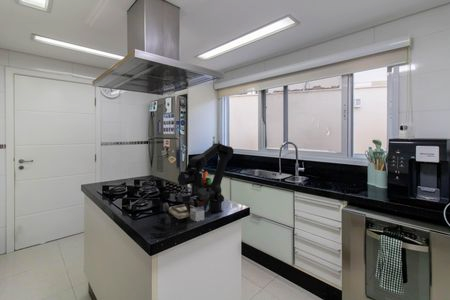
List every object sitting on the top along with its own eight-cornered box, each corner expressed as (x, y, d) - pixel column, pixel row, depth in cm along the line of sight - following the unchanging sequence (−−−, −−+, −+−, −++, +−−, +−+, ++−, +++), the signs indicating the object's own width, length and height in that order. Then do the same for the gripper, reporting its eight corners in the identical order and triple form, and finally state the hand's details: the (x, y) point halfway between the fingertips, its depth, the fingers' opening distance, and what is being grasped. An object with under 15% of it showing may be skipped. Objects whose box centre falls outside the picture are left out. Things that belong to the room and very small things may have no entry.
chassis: (190, 205, 141) (190, 197, 141) (204, 212, 127) (204, 204, 127) (163, 210, 131) (162, 202, 131) (175, 219, 117) (175, 210, 117)
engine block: (198, 216, 122) (198, 207, 122) (204, 219, 117) (204, 210, 117) (190, 218, 119) (190, 209, 119) (195, 222, 114) (195, 212, 114)
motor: (194, 204, 143) (193, 173, 141) (198, 200, 151) (198, 170, 150) (209, 205, 140) (209, 173, 139) (213, 201, 149) (213, 171, 148)
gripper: (187, 187, 105) (188, 220, 106) (220, 182, 116) (220, 212, 117) (177, 183, 114) (178, 213, 115) (209, 179, 125) (209, 206, 126)
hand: (197, 211), depth 118 cm, fingers open, 9 cm apart
